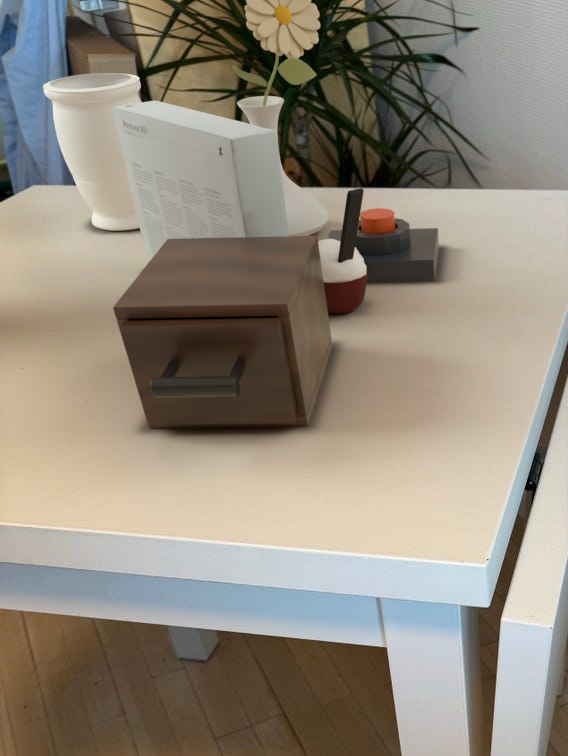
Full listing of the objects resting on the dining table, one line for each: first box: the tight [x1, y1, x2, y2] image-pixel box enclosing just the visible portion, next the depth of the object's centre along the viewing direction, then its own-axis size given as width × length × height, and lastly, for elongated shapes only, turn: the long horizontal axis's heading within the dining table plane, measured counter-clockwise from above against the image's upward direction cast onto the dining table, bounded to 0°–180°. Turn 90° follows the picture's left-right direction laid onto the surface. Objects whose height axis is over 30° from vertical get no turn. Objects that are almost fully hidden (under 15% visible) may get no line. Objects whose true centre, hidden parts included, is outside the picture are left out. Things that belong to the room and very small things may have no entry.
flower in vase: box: [231, 0, 330, 236], centre depth 98 cm, size 13×11×25 cm
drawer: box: [118, 316, 298, 426], centre depth 71 cm, size 18×12×8 cm, turn 179°
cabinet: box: [112, 235, 333, 429], centre depth 74 cm, size 15×13×10 cm
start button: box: [359, 207, 396, 234], centre depth 95 cm, size 4×4×2 cm
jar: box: [42, 72, 142, 232], centre depth 107 cm, size 11×10×15 cm
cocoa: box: [318, 187, 368, 315], centre depth 85 cm, size 10×6×12 cm, turn 17°
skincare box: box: [112, 100, 289, 264], centre depth 89 cm, size 21×5×16 cm, turn 45°
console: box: [326, 217, 440, 284], centre depth 97 cm, size 12×10×4 cm
